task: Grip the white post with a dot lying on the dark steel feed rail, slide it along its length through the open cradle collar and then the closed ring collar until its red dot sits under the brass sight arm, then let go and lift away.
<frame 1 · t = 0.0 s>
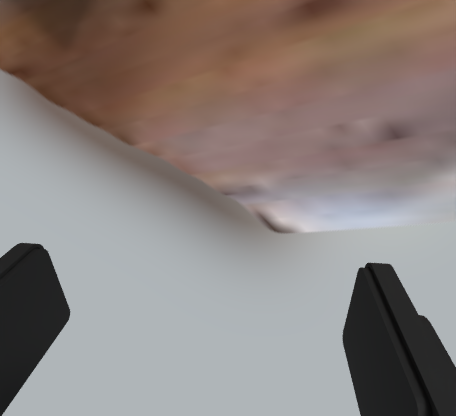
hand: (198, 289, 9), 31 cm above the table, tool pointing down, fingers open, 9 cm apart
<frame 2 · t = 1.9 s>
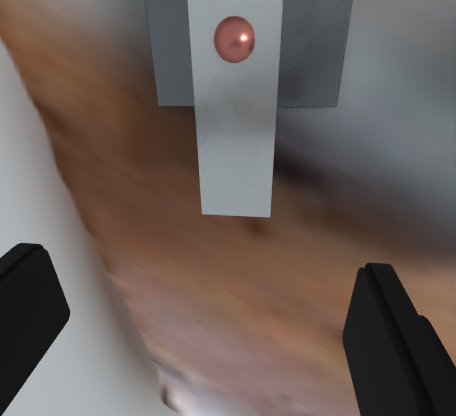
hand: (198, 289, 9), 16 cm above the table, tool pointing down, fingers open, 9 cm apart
white post with dot: (242, 78, 18), point 3 cm above the table, touching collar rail
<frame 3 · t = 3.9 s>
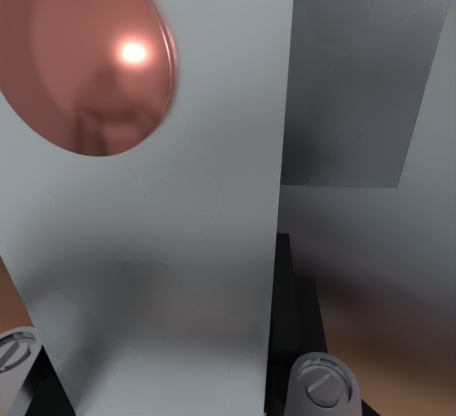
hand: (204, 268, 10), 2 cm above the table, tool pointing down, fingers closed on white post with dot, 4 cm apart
white post with dot: (189, 141, 8), point 3 cm above the table, touching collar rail, gripper
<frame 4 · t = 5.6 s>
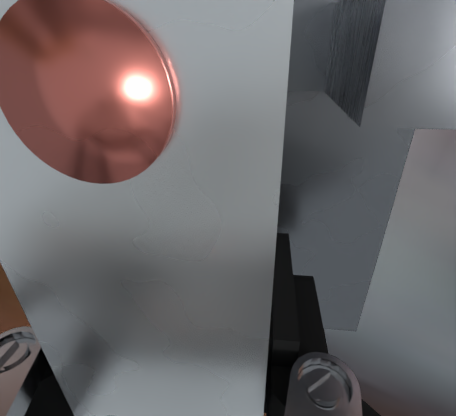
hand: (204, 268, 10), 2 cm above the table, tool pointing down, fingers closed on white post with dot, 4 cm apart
white post with dot: (190, 153, 8), point 3 cm above the table, touching gripper
when the fingers open (2 cm above the table, at t = 7.3 s): white post with dot stays where it is, resting on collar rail.
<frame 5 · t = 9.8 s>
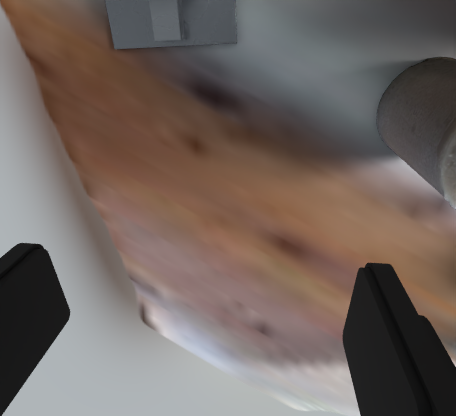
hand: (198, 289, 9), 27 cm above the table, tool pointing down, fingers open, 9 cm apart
pillar candle: (424, 110, 31), on the table
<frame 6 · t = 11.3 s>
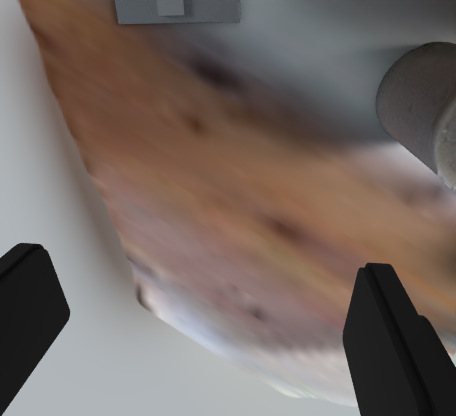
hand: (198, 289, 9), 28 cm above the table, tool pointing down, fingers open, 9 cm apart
pillar candle: (423, 96, 32), on the table
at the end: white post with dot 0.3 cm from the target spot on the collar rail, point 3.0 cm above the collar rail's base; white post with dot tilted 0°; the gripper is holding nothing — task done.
